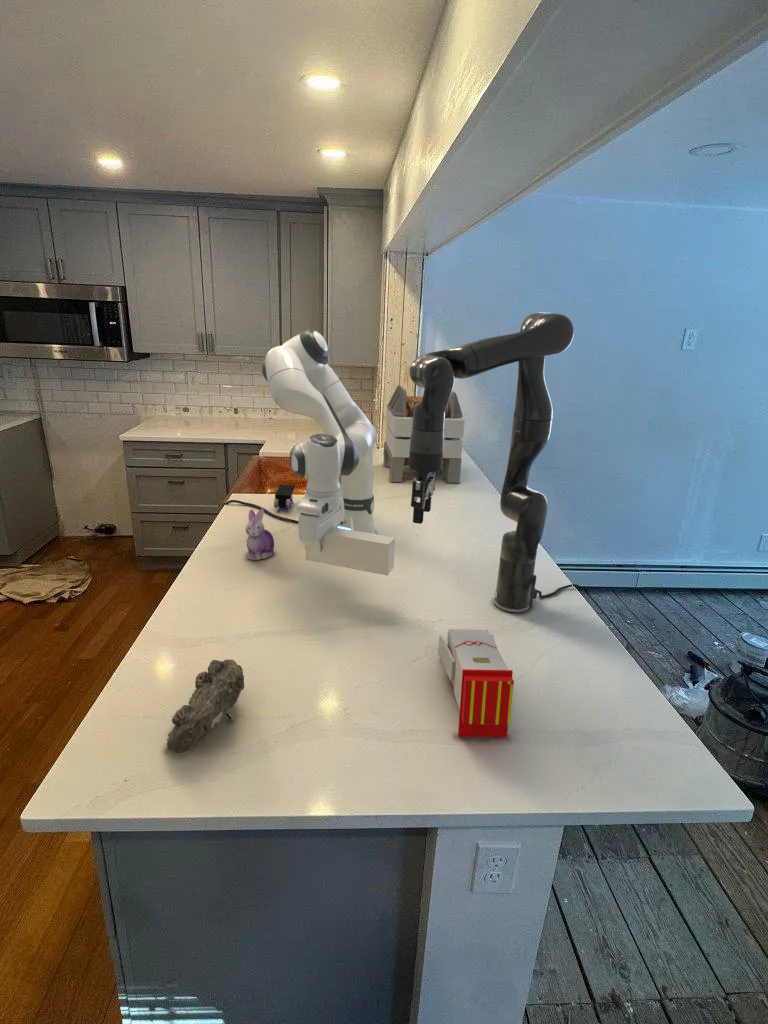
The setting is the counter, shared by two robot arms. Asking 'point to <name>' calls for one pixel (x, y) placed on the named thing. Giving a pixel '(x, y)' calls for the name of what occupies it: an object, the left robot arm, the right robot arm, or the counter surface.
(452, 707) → the counter surface
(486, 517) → the counter surface
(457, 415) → the slatted wooden crate
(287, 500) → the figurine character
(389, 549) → the bar
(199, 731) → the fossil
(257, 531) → the figurine
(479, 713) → the toy
